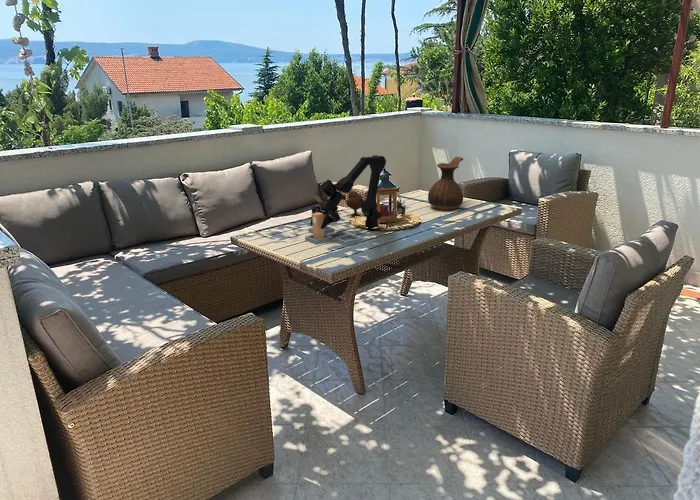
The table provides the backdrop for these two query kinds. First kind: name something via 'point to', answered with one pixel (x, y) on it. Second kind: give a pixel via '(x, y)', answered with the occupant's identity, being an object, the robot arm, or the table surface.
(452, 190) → the jug
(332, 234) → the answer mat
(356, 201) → the ice cream bowl
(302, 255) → the table surface
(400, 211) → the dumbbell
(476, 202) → the table surface
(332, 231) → the empty tray
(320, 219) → the orange block
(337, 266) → the table surface
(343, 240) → the empty tray
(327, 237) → the tray
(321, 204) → the wooden mug
